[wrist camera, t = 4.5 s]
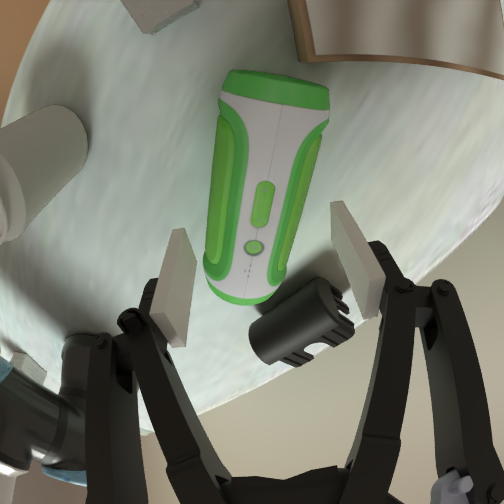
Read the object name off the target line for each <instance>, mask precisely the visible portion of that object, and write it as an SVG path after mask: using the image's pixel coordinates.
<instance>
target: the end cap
mask: <svg viewBox="0 0 504 504" xmlns="http://www.w3.org/2000/svg"><path fill="white" fill-rule="evenodd" d="M342 298H343V296H342V293H341V292H340V291H339V290H337V289H336V288H335V287H333V286H332V285H331V284H330V283H329V282H328V281H327V280H326V279H324V278H321V277H317V278H315V279H314V280H312V281H311V282H310V283H308V284H307V285H305V286H304V287H303V288H301V289H300V290H299V291H297V292H296V293H294V294H293V295H292V296H290V297H289V298H287V299H286V300H285V301H283V302H282V303H280V304H279V305H278V306H276V307H275V308H273V309H272V310H270V311H269V312H268V313H266V314H265V315H263V316H262V317H260V318H259V319H257V320H256V321H254V322H253V323H252V324H251V326H250V328H249V334H248V335H249V341H250V344H251V347H252V349H253V351H254V352H255V354H256V355H257V356H258V357H259V358H260V359H261V360H262V361H263V362H264V363H266V364H268V365H271V364H273V363H275V362H277V361H278V360H279V361H282V362H284V363H286V364H289V365H291V366H294V367H299V366H302V365H303V364H305V363H307V362H309V361H311V360H312V359H314V357H313V355H311V354H309V353H307V352H305V351H304V348H305V347H307V346H308V345H310V344H313V343H319V342H321V343H326V344H328V345H330V346H332V347H336V346H338V345H339V344H341V343H343V342H344V341H347V340H348V339H350V338H351V337H352V336H353V335H354V333H355V329H354V323H353V322H352V321H350V320H349V319H348V318H346V317H345V316H343V315H342V314H340V312H339V311H338V310H341V311H342V312H343V313H345V314H346V315H347V314H349V307H348V306H347V304H345V303H344V302H343V301H341V300H342Z"/></svg>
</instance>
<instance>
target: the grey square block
mask: <svg viewBox="0 0 504 504" xmlns="http://www.w3.org/2000/svg"><path fill="white" fill-rule="evenodd" d="M120 1H121V2H122V3H123V5H124V6H125V8H126V9H127V11H128V12H129V13H130V15H131V16H132V18H133V19H134V21H135V22H136V23H137V25H138V26H139V28H140V29H141V31H142V32H143V33H144V34H151V35H153V34H155V33H156V32H158V31H160V30H161V29H163V28H164V27H166V26H167V25H169V24H171V23H172V22H174V21H176V20H177V19H179V18H181V17H182V16H184V15H186V14H188V13H190V12H191V11H193V10H195V9H197V8H199V7H198V6H197V4H196V3H195V1H194V0H120Z"/></svg>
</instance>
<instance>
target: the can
mask: <svg viewBox="0 0 504 504" xmlns="http://www.w3.org/2000/svg"><path fill="white" fill-rule="evenodd" d="M87 150H88V142H87V134H86V132H85V129H84V127H83V124H82V122H81V121H80V119H79V118H78V117H77V116H76V114H75V113H74V112H72V111H71V110H69V109H68V108H66V107H64V106H59V105H51V106H47V107H43V108H41V109H39V110H37V111H35V112H33V113H30V114H28V115H26V116H24V117H22V118H20V119H18V120H16V121H15V122H13V123H11V124H9V125H7V126H5V127H3V128H2V129H0V245H1V244H3V242H4V241H8V242H10V241H12V240H14V239H16V238H18V237H19V236H20V235H21V233H22V232H23V231H24V230H25V229H26V227H27V226H28V225H29V224H30V223H31V222H32V220H33V219H34V218H35V217H36V216H37V215H38V214H39V213H40V211H41V210H42V209H43V208H44V207H45V206H46V205H47V204H48V203H49V202H50V201H51V200H52V198H53V197H54V196H55V195H56V194H57V193H58V192H59V191H60V190H61V189H62V188H63V187H64V186H65V185H66V184H67V183H68V182H69V181H70V180H71V179H72V178H73V177H74V176H75V175H76V174H77V173H78V172H79V171H80V170H81V169H82V167H83V165H84V163H85V161H86V158H87Z"/></svg>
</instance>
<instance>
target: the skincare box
mask: <svg viewBox="0 0 504 504" xmlns="http://www.w3.org/2000/svg"><path fill="white" fill-rule="evenodd" d="M10 362H12V363H13V364H14V366H15V367H16V368H18V369H19V370H21V371H22V372H23V373H25V374H26V375H28V376H29V377H31V378H32V379H34V380H35V381H37V382H38V383H40V384H41V385H43V383H44V380H45V378H46V375H47V372H46V371H44V370H43V369H42V368H41V367H40V366H39V365H38V364H37V363H36V362H34V361H33V360H32V359H31V358H30V356H29V355H27V354H24V353H18V352H14V354H13V356H12V358H11V361H10Z"/></svg>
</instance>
